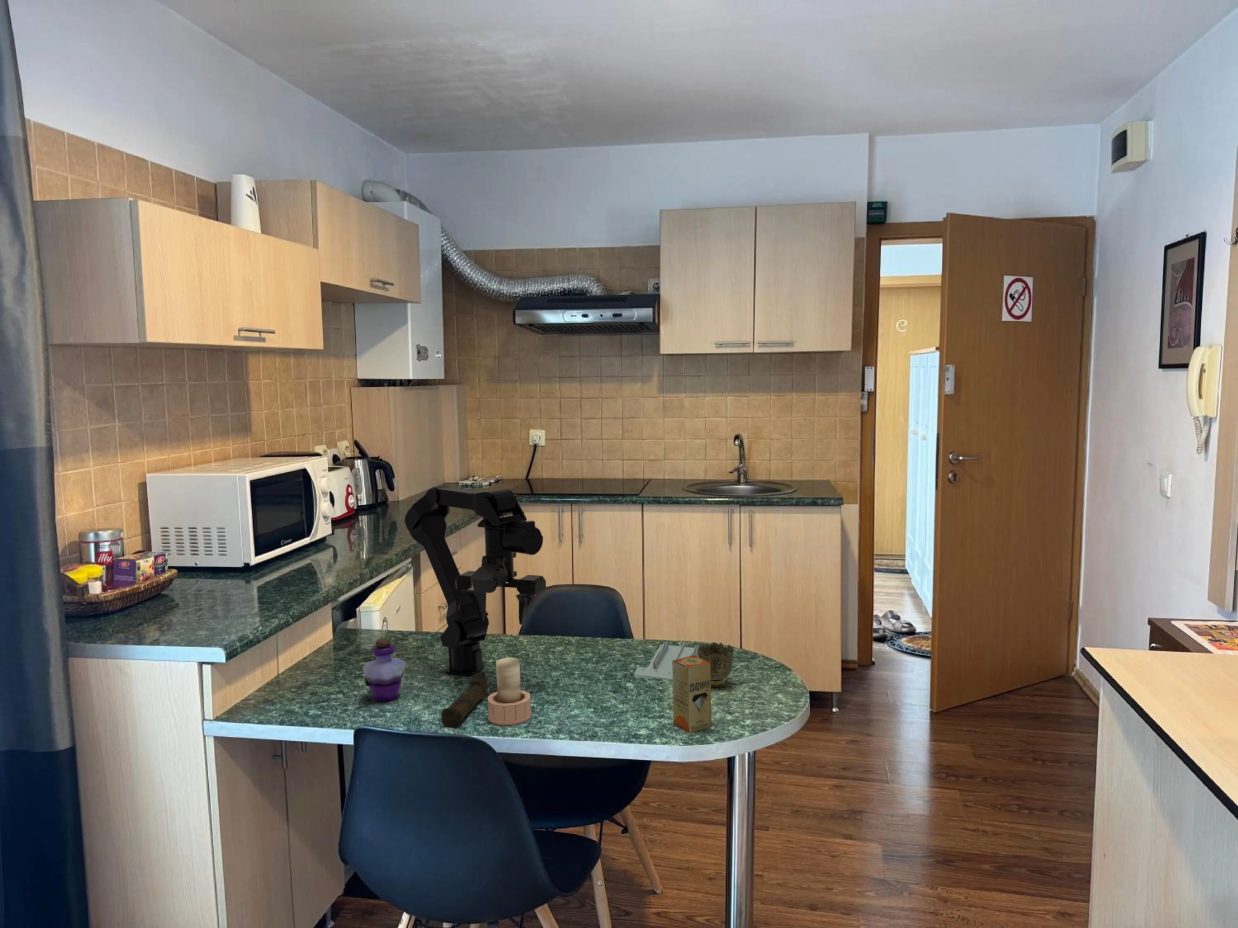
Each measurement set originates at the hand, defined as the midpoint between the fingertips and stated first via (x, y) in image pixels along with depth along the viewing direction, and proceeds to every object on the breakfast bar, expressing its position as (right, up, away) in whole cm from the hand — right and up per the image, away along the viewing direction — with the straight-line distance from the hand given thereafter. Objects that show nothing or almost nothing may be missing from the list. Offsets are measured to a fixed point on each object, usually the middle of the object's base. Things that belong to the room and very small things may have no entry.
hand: (502, 622), depth 178 cm
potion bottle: (-23, -14, -6) cm, 28 cm away
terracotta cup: (+4, -15, -17) cm, 23 cm away
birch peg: (+4, -14, -17) cm, 22 cm away
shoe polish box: (+38, -15, -23) cm, 47 cm away
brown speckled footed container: (+45, -13, -3) cm, 47 cm away
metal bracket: (+37, -12, +6) cm, 40 cm away
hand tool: (-5, -15, -12) cm, 20 cm away
